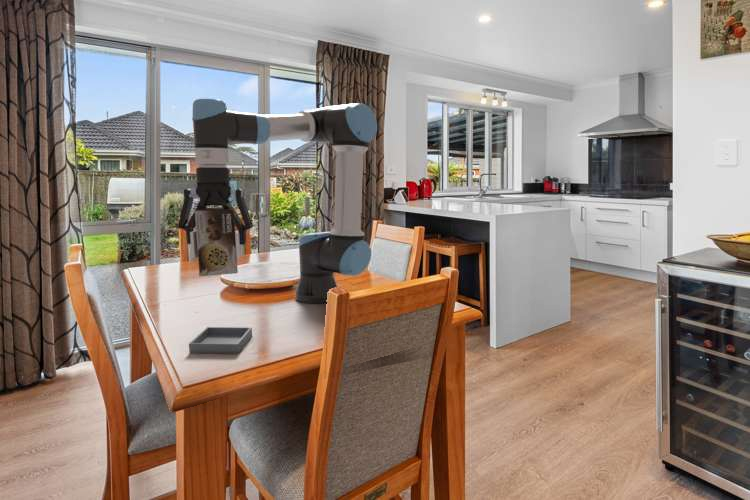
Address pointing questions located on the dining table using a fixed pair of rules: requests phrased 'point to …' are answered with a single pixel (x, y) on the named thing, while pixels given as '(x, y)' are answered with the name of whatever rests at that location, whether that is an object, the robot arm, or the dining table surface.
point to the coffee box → (216, 241)
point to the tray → (221, 340)
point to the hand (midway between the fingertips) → (217, 257)
